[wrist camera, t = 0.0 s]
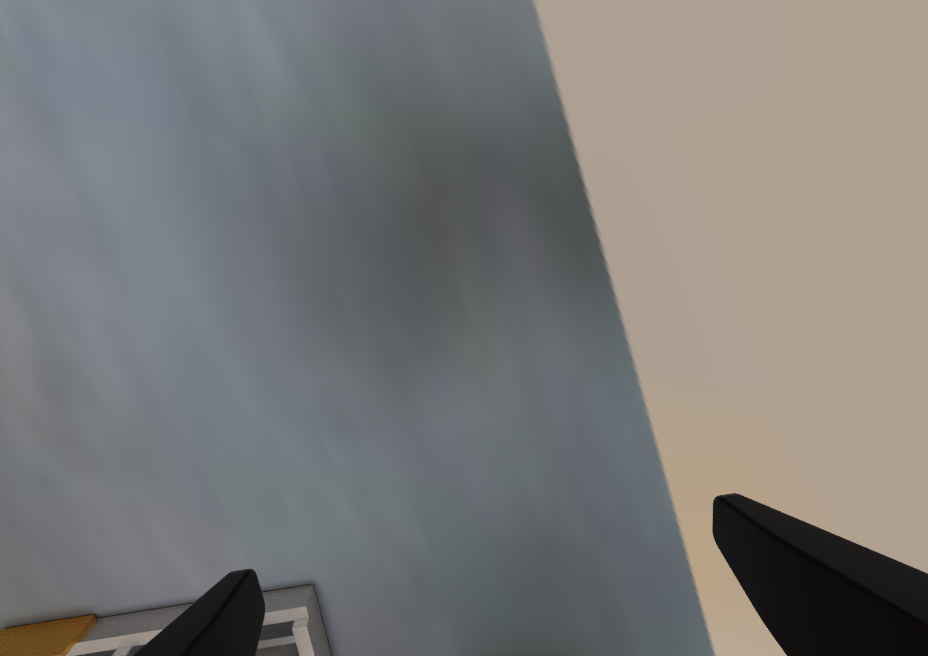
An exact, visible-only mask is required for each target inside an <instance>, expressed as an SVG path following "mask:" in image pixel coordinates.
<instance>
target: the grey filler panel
mask: <svg viewBox="0 0 928 656" xmlns="http://www.w3.org/2000/svg"><path fill="white" fill-rule="evenodd" d="M255 656H297V652H296V649H295V645H294V643H291V644H285V645H279V646H273V647H266V648H260V649H257V651H256V655H255Z"/></svg>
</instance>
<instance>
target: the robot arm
mask: <svg viewBox="0 0 928 656" xmlns="http://www.w3.org/2000/svg"><path fill="white" fill-rule="evenodd" d="M713 536H714V539H715V542H716V544H717V546H718V548H719V549H720V551H721V553H722V554H723V556H724V558H725V559H726V561H727V563H728V565H729V566H730V568H731V569H732V571H733V573H734V575H735V576H736V578H737V579H738V581H739V583H740V585H741V586H742V588H743V590H744V591H745V593H746V595H747V596H748V598H749V600H750V601H751V603H752V605H753V606H754V608H755V610H756V611H757V613H758V614H759V616H760V618H761V619H762V621H763V622H764V624H765V625H766V627H767V628H768V630H769V631H770V632H771V634H772V635H773V637H774V638H775V640H776V641H777V642H778V644H779V645H780V646H781V648H782V649H783V651H784V652H785V653H786V655H787V656H928V574H927V573H925V572H923V571H920V570H918V569H916V568H913V567H911V566H908V565H906V564H904V563H901V562H899V561H897V560H894V559H892V558H889V557H887V556H885V555H882V554H880V553H877V552H875V551H873V550H870V549H868V548H866V547H863V546H861V545H858V544H856V543H853V542H851V541H849V540H847V539H844V538H842V537H839V536H837V535H835V534H832V533H830V532H828V531H825V530H823V529H820V528H818V527H816V526H813V525H811V524H809V523H806V522H804V521H801V520H799V519H797V518H794V517H792V516H789V515H787V514H785V513H782V512H780V511H778V510H775V509H773V508H771V507H768V506H766V505H763V504H761V503H758V502H756V501H754V500H751V499H749V498H747V497H744V496H742V495H740V494H736V493H733V494H727V495H720V496H717V497H715V499H714V501H713ZM264 617H265V601H264V598H263V594H262V591H261V588H260V584H259V581H258V577H257V575H256V572H255V571H254V570H253V569H244V570H238V571H233V572H230V573H229V574H227V575H226V576H225V577H224V578H222V579H221V580H220V581H219V582H218V583H217V584H215V585H214V586H213V587H212V588H211V589H210V590H208V591H207V592H206V593H205V594H204V595H203V596H201V597H200V598H199V599H198V600H197V601H196V602H194V603H193V604H192V605H191V606H190V607H189V608H187V609H186V610H185V611H184V612H183V613H182V614H180V615H179V616H178V617H177V618H176V619H175V620H173V621H172V622H171V623H170V624H169V625H168V626H166V627H165V628H164V629H163V630H162V631H161V632H159V633H158V634H157V635H156V636H155V637H154V638H152V639H151V640H150V641H149V642H148V643H147V644H145V645H144V646H143V647H142V648H141V649H140V650H138V651H137V652H136V653H135V654H134V655H133V656H255V655H256V651H257V647H258V643H259V639H260V634H261V630H262V626H263V622H264Z"/></svg>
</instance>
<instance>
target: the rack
mask: <svg viewBox="0 0 928 656" xmlns="http://www.w3.org/2000/svg"><path fill="white" fill-rule="evenodd" d="M262 594H263V598H264V601H265V617H264V622H263V626H262V630H261V634H260V639H259V643H258V647H257V649H260V648H266V647H273V646H279V645H285V644H291V643H296V645H297V649H298V652H299V656H331V652H330V648H329V644H328V640H327V636H326V632H325V628H324V625H323V621H322V617H321V613H320V609H319V605H318V601H317V598H316V594H315V590H314V586H313V584H312V585H306V586H300V587H293V588H287V589H281V590H274V591H268V592H262ZM192 604H193V603H192ZM192 604H186V605H179V606H173V607H167V608H160V609H154V610H148V611H141V612H135V613H129V614H122V615H116V616H110V617H103V618H97V619H96V616H95V614H94V615H88V616H81V617H75V618H69V619H62V620H56V621H50V622H43V623H37V624H30V625H24V626H18V627H11V628H5V629H3V630H2V631H1V632H0V656H133V655H134V654H135V653H136V652H137V651H138V650H140V649H141V648H142V647H143V646H144V645H145V644H147V643H148V642H149V641H150V640H151V639H152V638H154V637H155V636H156V635H157V634H158V633H159V632H161V631H162V630H163V629H164V628H165V627H166V626H168V625H169V624H170V623H171V622H172V621H173V620H175V619H176V618H177V617H178V616H179V615H180V614H182V613H183V612H184V611H185V610H186V609H187V608H189V607H190V606H191V605H192Z"/></svg>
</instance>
